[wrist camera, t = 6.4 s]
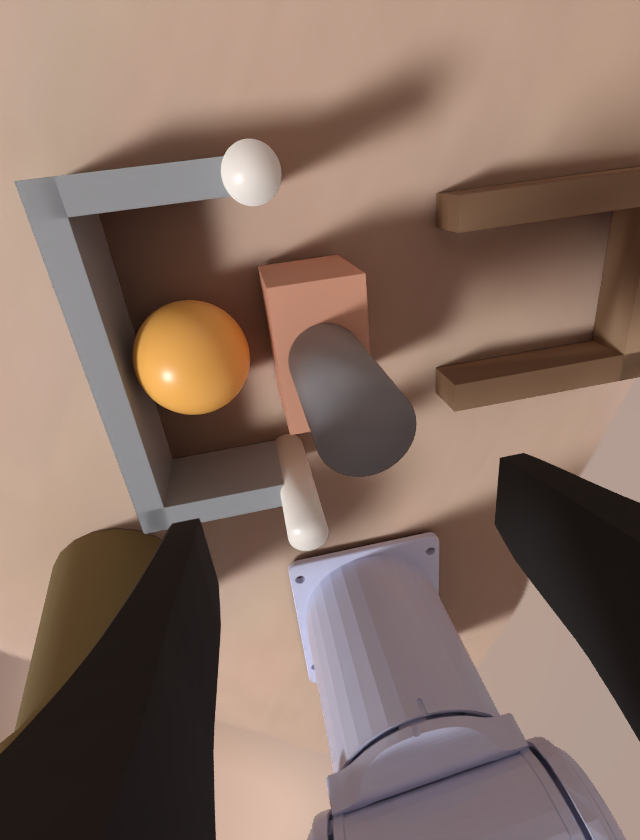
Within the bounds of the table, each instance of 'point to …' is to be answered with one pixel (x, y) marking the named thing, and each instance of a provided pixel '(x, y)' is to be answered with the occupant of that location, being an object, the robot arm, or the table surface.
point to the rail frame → (618, 301)
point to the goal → (114, 336)
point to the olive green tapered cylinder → (80, 609)
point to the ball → (191, 357)
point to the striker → (333, 366)
